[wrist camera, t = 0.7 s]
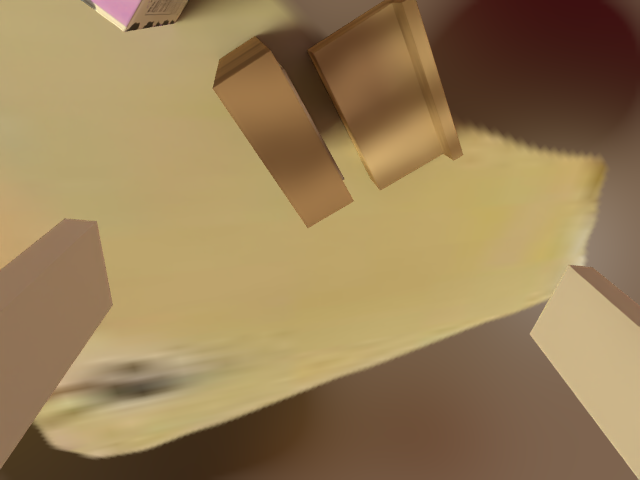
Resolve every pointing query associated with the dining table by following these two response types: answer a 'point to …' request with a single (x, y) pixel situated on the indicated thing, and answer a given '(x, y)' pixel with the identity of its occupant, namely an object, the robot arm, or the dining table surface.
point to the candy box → (138, 12)
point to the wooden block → (280, 130)
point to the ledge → (388, 90)
